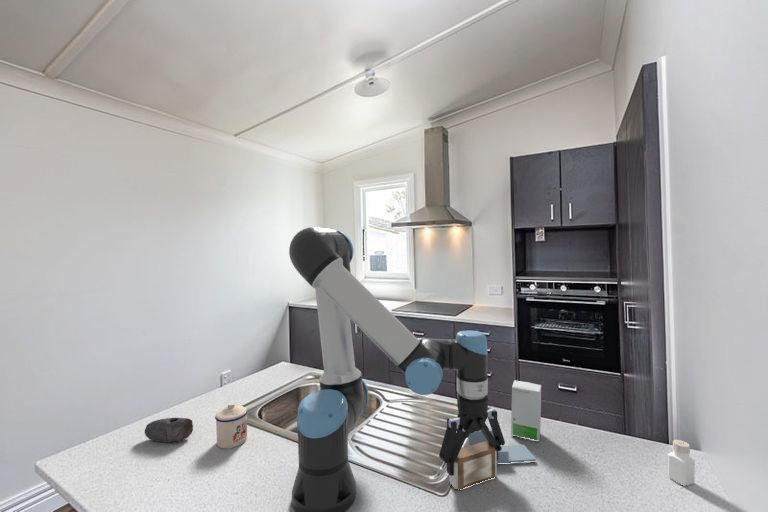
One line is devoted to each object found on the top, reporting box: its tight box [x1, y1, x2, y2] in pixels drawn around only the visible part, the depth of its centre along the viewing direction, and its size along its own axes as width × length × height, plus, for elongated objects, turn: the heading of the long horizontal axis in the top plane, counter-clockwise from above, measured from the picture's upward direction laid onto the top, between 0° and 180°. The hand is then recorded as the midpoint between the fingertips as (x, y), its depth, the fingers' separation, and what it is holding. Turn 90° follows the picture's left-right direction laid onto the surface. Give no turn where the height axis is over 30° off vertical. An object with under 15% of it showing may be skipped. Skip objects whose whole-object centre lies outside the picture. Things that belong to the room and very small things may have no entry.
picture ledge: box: [467, 428, 537, 464], centre depth 98 cm, size 24×7×6 cm, turn 93°
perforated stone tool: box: [144, 417, 194, 443], centre depth 110 cm, size 15×5×7 cm, turn 83°
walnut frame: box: [455, 441, 496, 491], centre depth 89 cm, size 11×4×8 cm, turn 113°
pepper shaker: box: [667, 439, 696, 487], centre depth 87 cm, size 4×4×10 cm
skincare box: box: [510, 379, 542, 441], centre depth 109 cm, size 8×7×16 cm
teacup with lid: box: [214, 402, 248, 449], centre depth 110 cm, size 12×9×12 cm
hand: (473, 479), depth 89 cm, fingers open, 11 cm apart
